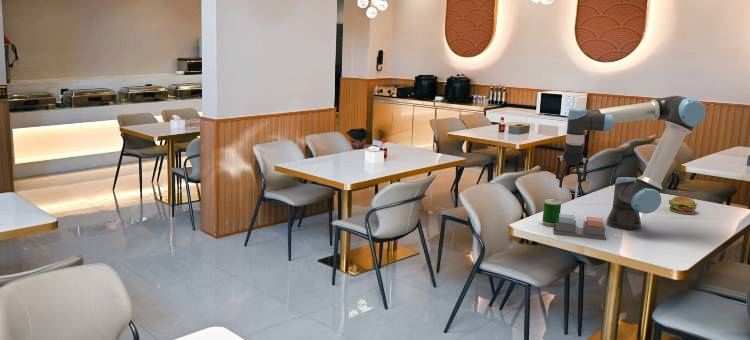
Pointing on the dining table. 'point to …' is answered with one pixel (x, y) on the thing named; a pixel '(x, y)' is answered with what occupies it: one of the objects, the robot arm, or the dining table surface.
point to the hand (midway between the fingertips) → (568, 195)
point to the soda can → (551, 211)
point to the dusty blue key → (566, 218)
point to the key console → (579, 230)
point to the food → (682, 205)
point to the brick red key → (594, 222)
